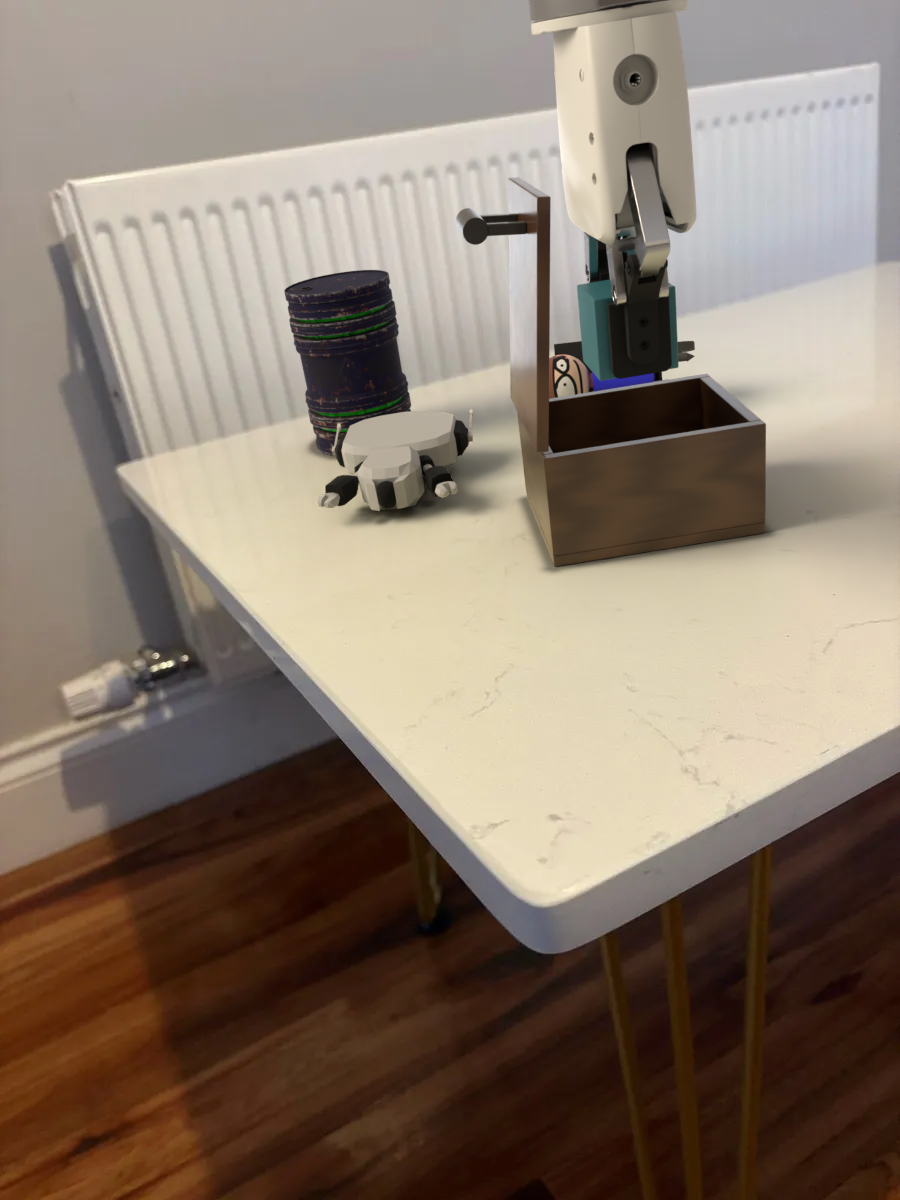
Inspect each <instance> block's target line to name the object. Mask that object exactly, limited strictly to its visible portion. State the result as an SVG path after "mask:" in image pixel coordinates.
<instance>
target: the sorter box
mask: <svg viewBox="0 0 900 1200" xmlns="http://www.w3.org/2000/svg"><path fill="white" fill-rule="evenodd" d="M662 380H663V381H657V382H651V383H645V384H638V385H632V386H626V387H619V388H613V389H607V390H601V391H594V392H588V393H582V394H576V395H569V396H563V397H557V398H551V399H549V451H548V452H536V449H535V447H534V445H533V443H532V441H531V439H530V437H529V435H528V433H527V431H526V429H525V427H524V425H523V422H522V420H521V418H520V416H519V414H518V412H517V411H516V413H517V422H518V430H519V439H520V448H521V449H520V450H521V459H522V467H523V476H524V485H525V494H526V500H527V502H528V505H529V508H530V510H531V512H532V515H533V517H534V520H535V523H536V524H537V527H538V529H539V532H540V534H541V538H542V539H543V542H544V544H545V546H546V549H547V551H548V555H549V557H550V559H551V562H552V564H553V566H554V567H560V566H566V565H572V564H573V565H574V564H578V563H585V562H591V561H597V560H604V559H609V558H616V557H622V556H628V555H634V554H640V553H641V554H642V553H647V552H653V551H660V550H666V549H671V548H678V547H685V546H692V545H697V544H703V543H709V542H717V541H722V540H726V539H735V538H740V537H744V536H745V537H747V536H752V535H759V534H764V533H766V509H767V508H766V504H767V503H766V501H767V500H766V499H767V497H766V496H767V495H766V490H767V489H766V488H767V486H766V485H767V484H766V483H767V476H766V475H767V471H766V470H767V469H766V467H767V424H766V422H765V421H764V420H762V419H761V418H760V417H758V416H757V414H755V413H754V412H753V411H751V410H750V409H749V408H748V407H747V406H746V405H744V403H742V402H741V401H739V399H737V398H736V397H735V396H733V394H731V393H730V392H729V391H728V390H727V389H725V387H723V386H722V385H721V384H720V383H719V382H717V381H716V380H715V379H714V378H713V377H712V376H710V375H709V373H702V374H695V375H688V376H682V377H675V378H671V379H670V380H669V379H662Z"/></svg>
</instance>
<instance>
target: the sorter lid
mask: <svg viewBox="0 0 900 1200" xmlns="http://www.w3.org/2000/svg"><path fill="white" fill-rule="evenodd" d="M507 184H508V185H507V187H508V189H507V191H508V213H497V214H480V213H478V212H477V211H476V210H475V209H473V208H469V207H465V208H463V209H462V210H460V211H459V212H458V214H457V215H456V216H455V217H456V218H455V225H456V228H457V230H458V231H459V232H460V234H461V235H462V237H463V238H464V240H465V241H466V242H467V243H468V244H470V245H473V246H477V245H480V244H483V243H484V242H485V241H486V240H487V238H488V237H497V236H498V237H499V236H508V265H509V266H508V275H509V276H508V277H509V278H508V279H509V280H508V282H509V283H508V287H509V294H508V295H509V382H510V383H509V385H510V386H509V387H510V389H509V393H510V399H511V402H512V404H513V406H514V408H515V411H516V413H517V412H518V414H519V416H520V418H521V420H522V422H523V425H524V427H525V429H526V431H527V433H528V435H529V437H530V439H531V441H532V443H533V445H534V447H535V449H536V452H548V451H549V358H550V343H551V342H550V336H551V335H550V333H551V331H550V330H551V329H550V328H551V323H550V322H551V321H550V319H551V215H552V213H551V212H552V211H551V208H552V207H551V206H552V205H551V203H552V201H551V199H552V198H551V197H552V196H550V195H548V194H546V193H545V192H543V191H542V190H540V189H539V188H537V187H535V186H534V185H532V184H531V183H529V182H527V181H526V180H524V179H523V178H521V177H520V176H516V177H508V180H507ZM518 414H517V415H518Z"/></svg>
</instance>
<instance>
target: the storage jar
mask: <svg viewBox="0 0 900 1200" xmlns="http://www.w3.org/2000/svg"><path fill="white" fill-rule="evenodd" d="M389 273H390V272H388V271H386V270H381V269H360V270H349V271H342V272H341V271H340V272H334V273H330V274H325V275H324V274H323V275H320V276H316V277H312V278H311V277H310V278H308V279H304V280H301V281H298V282H296V283H293V284H291V285H289V286H287V287H286V288H285V289H284V291H283V293H284V297H285V300H286V302H287V304H288V306H287V311H288V315H289V319H288V322H289V326H290V329H291V330H290V331H291V333H292V334H293V335H292V337H293V340H294V341H293V346H295V347H294V348H295V351H296V353H298V354H299V357H300V361H301V367H302V371H303V376H304V381H305V385H306V390H305V393H304V396H305V403H306V406H307V408H308V410H307V412H308V413H307V414H308V418H309V421H310V424H311V425H312V430H313V433H314V435H315V438H316V439H315V445H316V450H318V451H319V452H320V453H322V454H325V455H328V456H333V454H332V446H334V444H335V438H336V433H337V424H339V423H340V424H341V431H340V434H339V439H340V438H341V436H342V434H343V433H345V432H348V429H349V427H350V426H351V425H353V424H355V423H357V422H360V421H362V420H365V419H369V418H373V417H378V416H382V415H388V414H394V413H400V412H412V410H411V407H412V402H411V401H412V400H411V395H410V392H409V387H408V386H409V382H408V380H407V375H406V374H405V373H404V372H403V368H402V362H401V356H400V351H399V343H398V336H399V333H400V332H399V327H400V326H399V324H398V319H397V317H396V316H397V309H396V308H397V307H396V302H395V301H394V299H393V292H392V289H391V288H390V284H391V279H390V274H389ZM338 441H339V440H338Z"/></svg>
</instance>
